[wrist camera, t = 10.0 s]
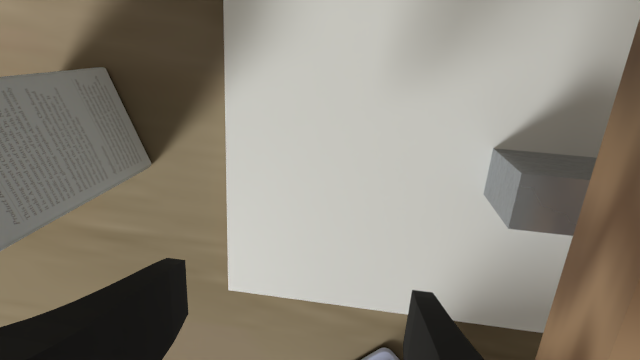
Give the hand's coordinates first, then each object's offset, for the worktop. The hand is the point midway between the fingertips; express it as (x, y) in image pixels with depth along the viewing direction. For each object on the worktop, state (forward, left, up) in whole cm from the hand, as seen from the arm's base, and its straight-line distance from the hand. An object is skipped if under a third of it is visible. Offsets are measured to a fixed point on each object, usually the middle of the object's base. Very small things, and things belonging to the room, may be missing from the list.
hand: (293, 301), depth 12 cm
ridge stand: (-3, -6, -10) cm, 12 cm away
